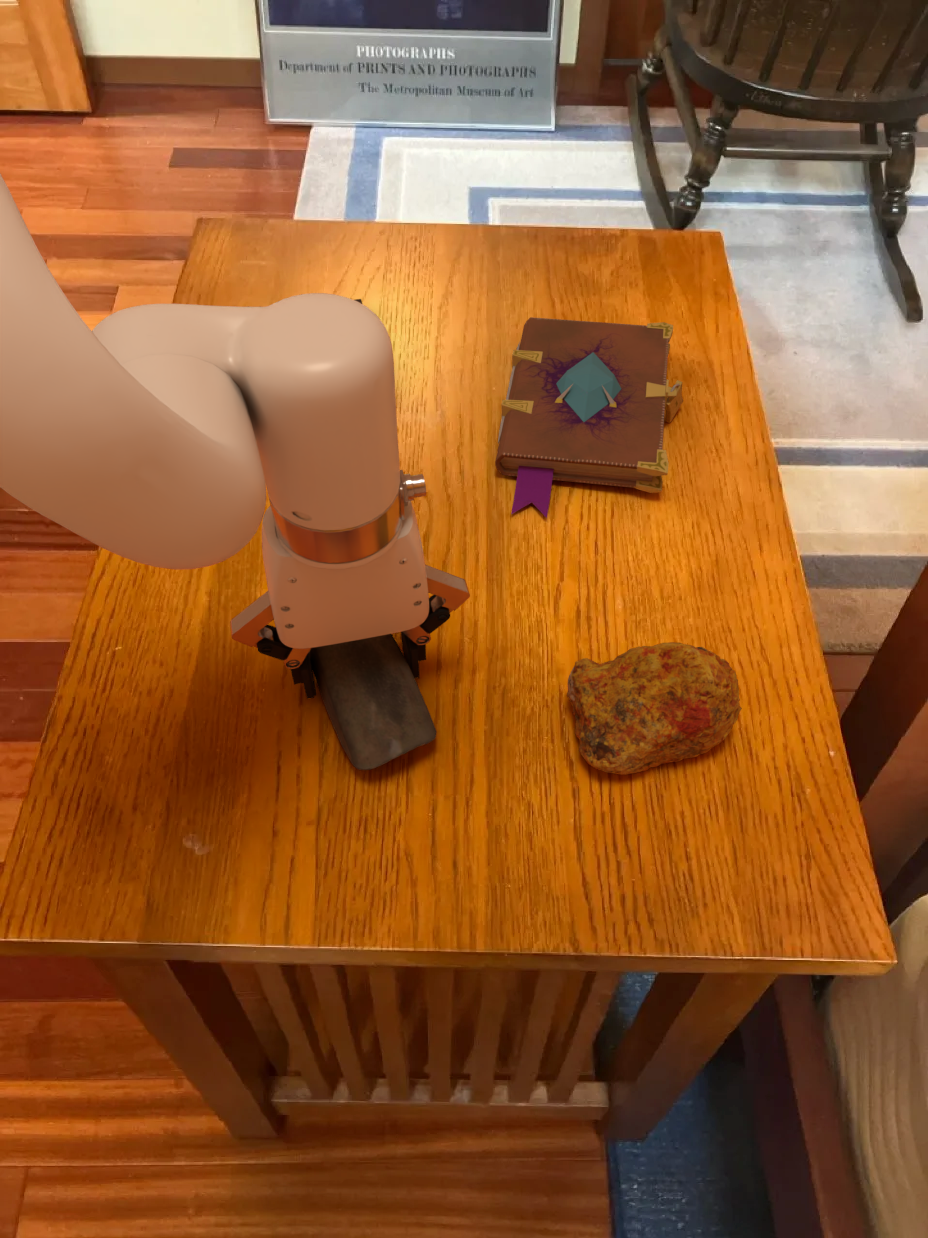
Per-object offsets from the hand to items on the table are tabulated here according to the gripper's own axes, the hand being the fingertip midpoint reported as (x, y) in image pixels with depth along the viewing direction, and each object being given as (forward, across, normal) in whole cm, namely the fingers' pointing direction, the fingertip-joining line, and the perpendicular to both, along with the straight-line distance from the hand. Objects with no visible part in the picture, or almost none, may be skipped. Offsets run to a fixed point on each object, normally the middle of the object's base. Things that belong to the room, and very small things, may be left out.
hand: (360, 671), depth 68 cm
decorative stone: (+1, 0, 0) cm, 1 cm away
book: (+1, -25, -22) cm, 34 cm away
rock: (+1, -20, +8) cm, 21 cm away
